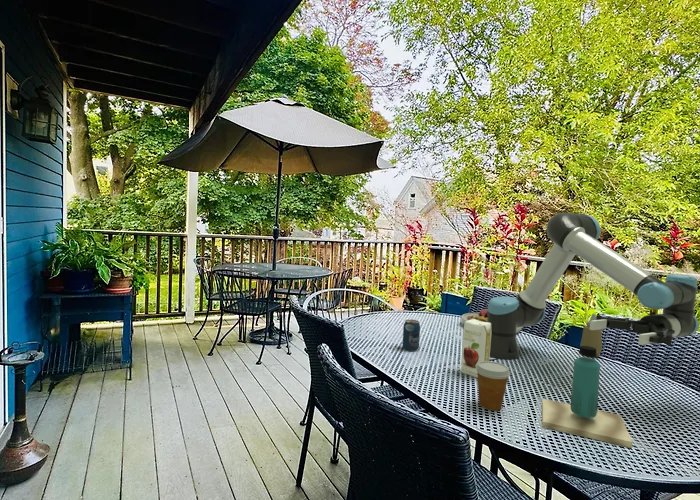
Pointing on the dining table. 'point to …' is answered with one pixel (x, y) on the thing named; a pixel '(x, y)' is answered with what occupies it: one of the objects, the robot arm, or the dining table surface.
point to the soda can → (411, 335)
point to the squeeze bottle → (592, 337)
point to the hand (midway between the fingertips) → (614, 332)
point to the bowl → (479, 317)
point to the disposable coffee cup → (492, 384)
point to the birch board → (585, 423)
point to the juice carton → (475, 345)
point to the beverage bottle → (585, 384)
